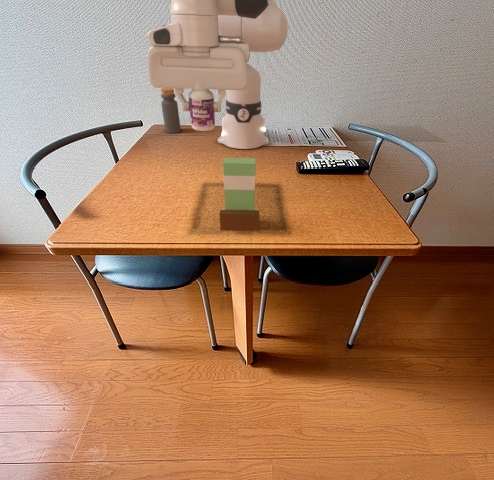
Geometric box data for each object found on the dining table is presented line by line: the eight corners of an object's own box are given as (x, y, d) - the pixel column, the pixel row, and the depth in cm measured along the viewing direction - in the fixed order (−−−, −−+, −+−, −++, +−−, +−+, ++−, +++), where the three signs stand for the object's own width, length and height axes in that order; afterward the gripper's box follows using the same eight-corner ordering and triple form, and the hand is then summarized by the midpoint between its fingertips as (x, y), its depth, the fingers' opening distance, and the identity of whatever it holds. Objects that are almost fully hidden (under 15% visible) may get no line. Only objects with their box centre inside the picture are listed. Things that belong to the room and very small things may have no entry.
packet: (226, 219, 63) (223, 157, 55) (253, 219, 63) (255, 158, 55) (225, 225, 61) (222, 162, 53) (253, 226, 61) (255, 163, 53)
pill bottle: (192, 132, 63) (187, 82, 57) (190, 125, 67) (185, 78, 62) (217, 130, 65) (214, 82, 59) (213, 124, 69) (210, 78, 63)
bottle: (181, 132, 112) (175, 90, 103) (165, 133, 111) (158, 90, 101) (180, 128, 116) (175, 87, 107) (165, 129, 115) (158, 87, 106)
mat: (204, 184, 78) (203, 168, 75) (278, 185, 78) (279, 169, 75) (191, 232, 60) (189, 213, 57) (286, 233, 61) (289, 214, 58)
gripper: (249, 36, 58) (248, 109, 67) (148, 32, 58) (160, 106, 66) (249, 37, 53) (248, 116, 62) (138, 33, 53) (152, 113, 61)
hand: (202, 111), depth 64 cm, fingers closed on pill bottle, 5 cm apart
